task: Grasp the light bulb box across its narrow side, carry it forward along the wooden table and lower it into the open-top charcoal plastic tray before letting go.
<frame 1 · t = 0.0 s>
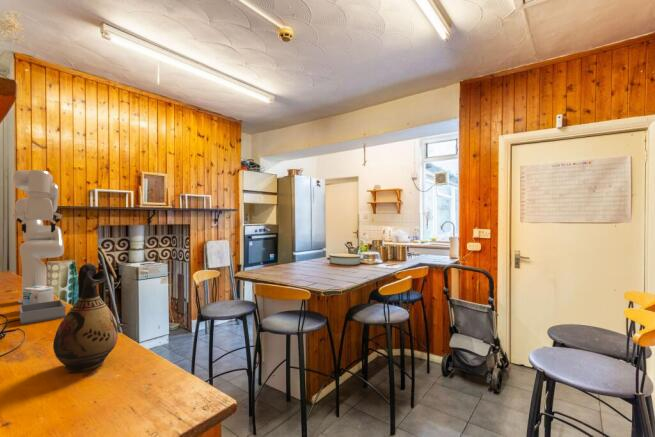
hand: (38, 232, 151), 37 cm above the table, tool pointing down, fingers open, 9 cm apart
tray: (42, 317, 140), on the table
light bulb box: (38, 310, 151), on the table
ceramic jug: (86, 364, 95), on the table
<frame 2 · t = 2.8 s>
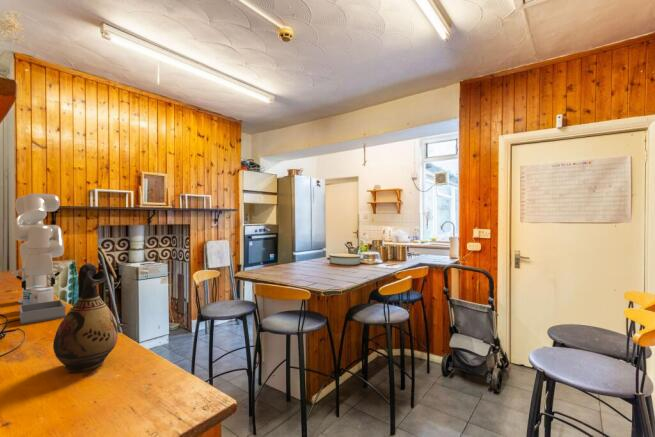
hand: (38, 287, 151), 11 cm above the table, tool pointing down, fingers open, 9 cm apart
light bulb box: (38, 310, 151), on the table, touching gripper
everything else where it was.
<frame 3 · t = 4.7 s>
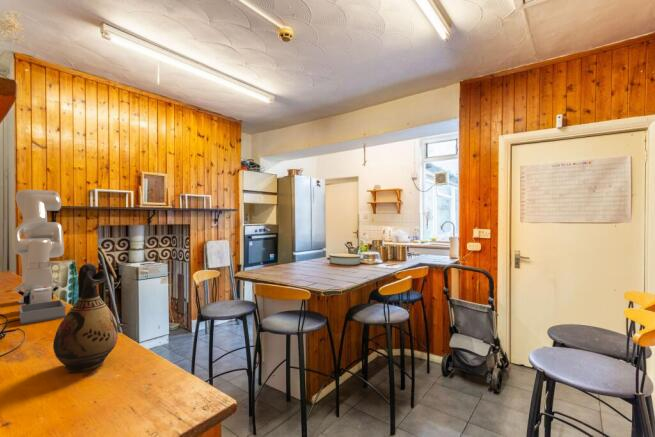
hand: (38, 302, 151), 3 cm above the table, tool pointing down, fingers closed on light bulb box, 7 cm apart
light bulb box: (38, 310, 151), on the table, touching gripper
everything else where it was.
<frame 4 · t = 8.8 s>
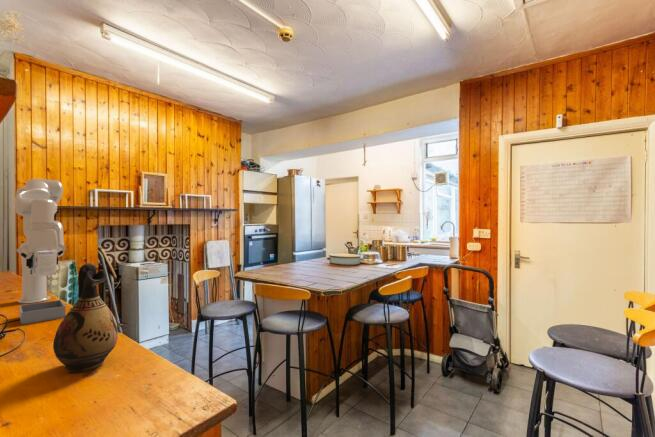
hand: (42, 266, 140), 22 cm above the table, tool pointing down, fingers closed on light bulb box, 7 cm apart
light bulb box: (42, 275, 140), point 19 cm above the table, touching gripper
everything else where it was.
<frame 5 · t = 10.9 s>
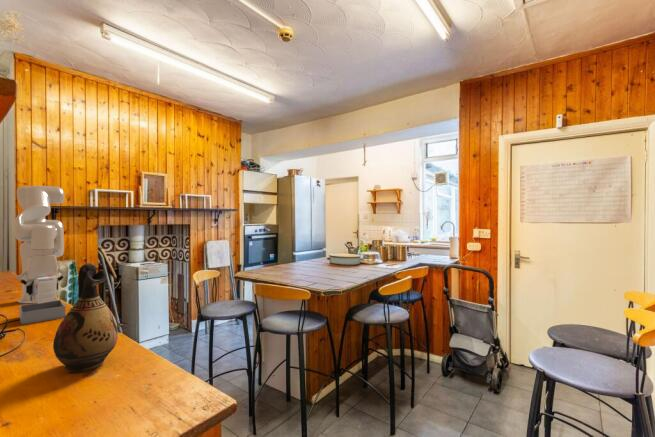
hand: (42, 292, 140), 11 cm above the table, tool pointing down, fingers closed on light bulb box, 7 cm apart
light bulb box: (42, 301, 140), point 7 cm above the table, touching gripper
everything else where it was.
when the fingers open (6 cm above the table, at t = 12.9 s): light bulb box drops 2 cm, resting on tray.
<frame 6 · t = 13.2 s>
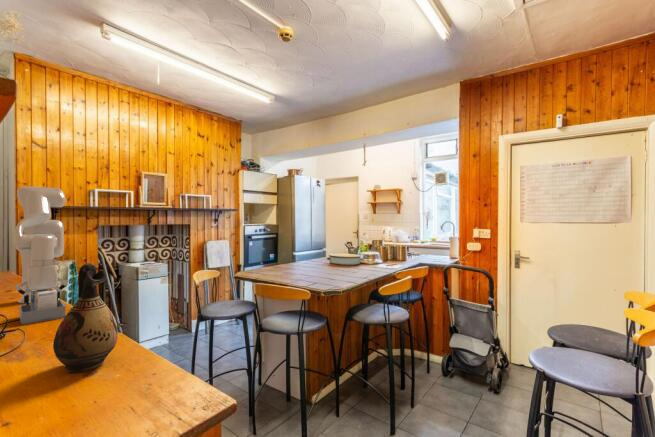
hand: (42, 302, 140), 7 cm above the table, tool pointing down, fingers open, 9 cm apart
light bulb box: (43, 315, 140), point 1 cm above the table, touching tray
everything else where it was.
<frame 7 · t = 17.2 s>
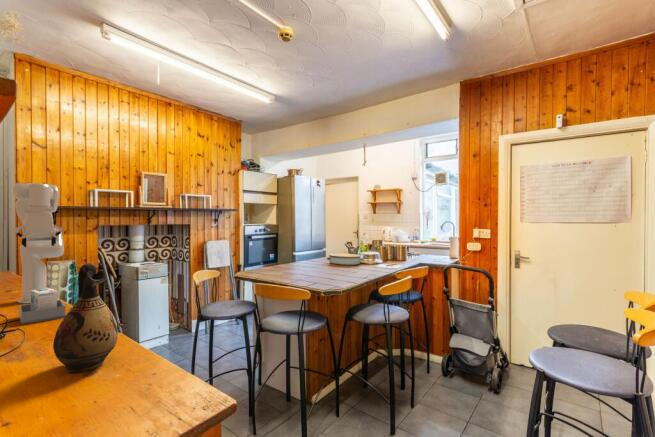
hand: (39, 246, 149), 30 cm above the table, tool pointing down, fingers open, 9 cm apart
nothing on the table moved.
at the end: light bulb box 0.4 cm off-centre on the tray, point 0.8 cm above the tray's base; light bulb box tilted 0°; the gripper is holding nothing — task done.
